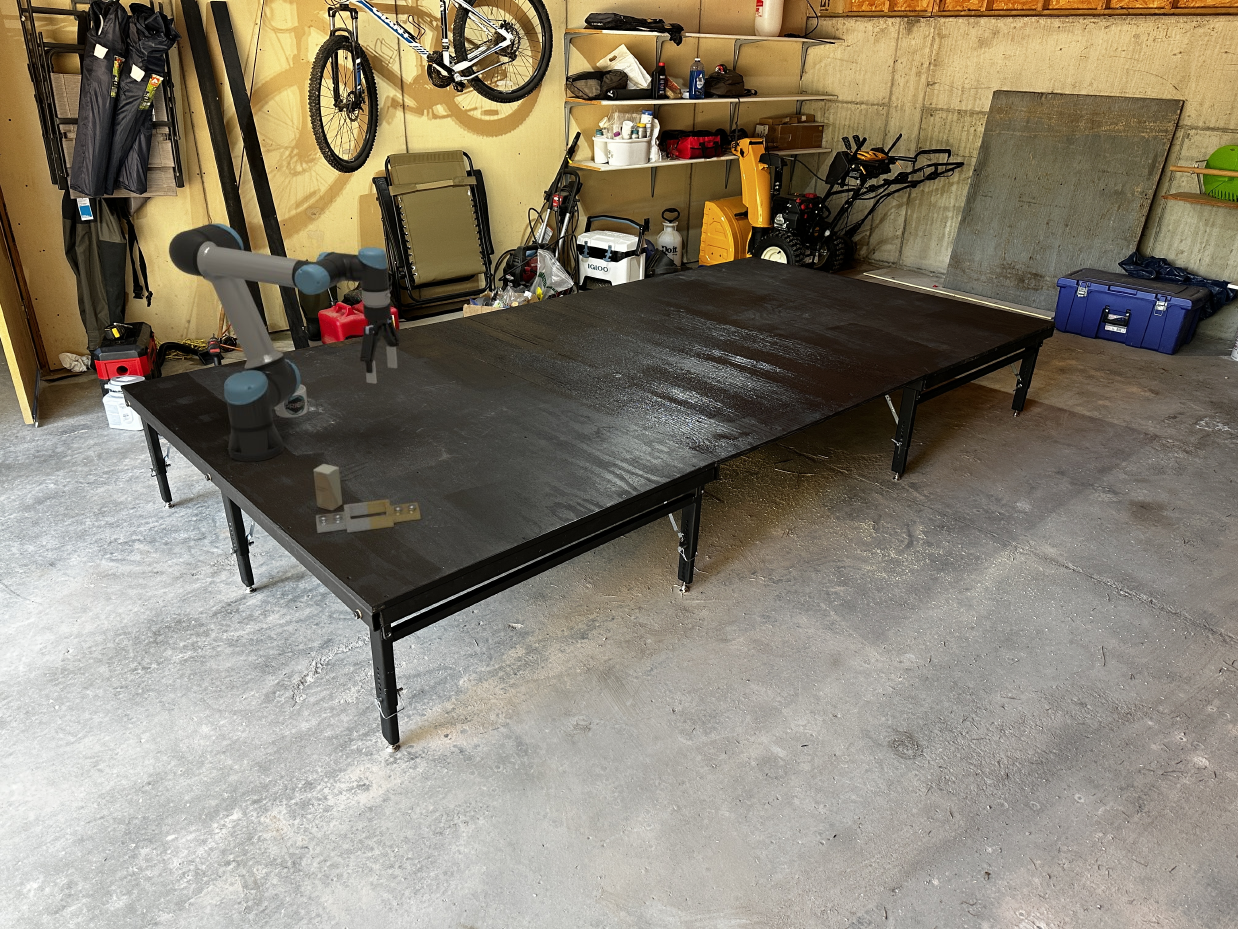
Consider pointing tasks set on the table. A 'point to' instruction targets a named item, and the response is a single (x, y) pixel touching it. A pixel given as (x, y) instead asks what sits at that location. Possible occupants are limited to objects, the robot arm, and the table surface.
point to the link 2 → (391, 513)
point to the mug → (293, 405)
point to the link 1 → (344, 519)
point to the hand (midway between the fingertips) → (382, 374)
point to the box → (327, 487)
